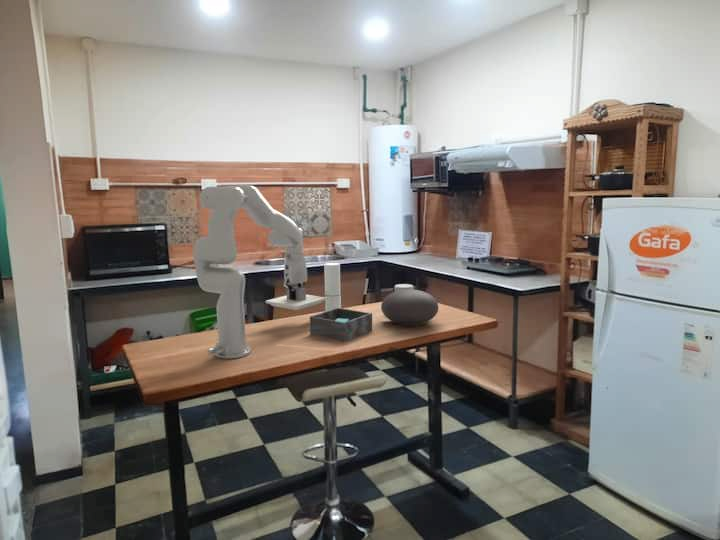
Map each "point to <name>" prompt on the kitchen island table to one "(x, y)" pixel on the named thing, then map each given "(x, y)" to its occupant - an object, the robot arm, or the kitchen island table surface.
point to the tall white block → (332, 286)
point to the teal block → (342, 320)
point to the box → (341, 324)
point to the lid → (300, 301)
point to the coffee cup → (403, 287)
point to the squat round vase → (409, 307)
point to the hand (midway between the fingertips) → (296, 298)
